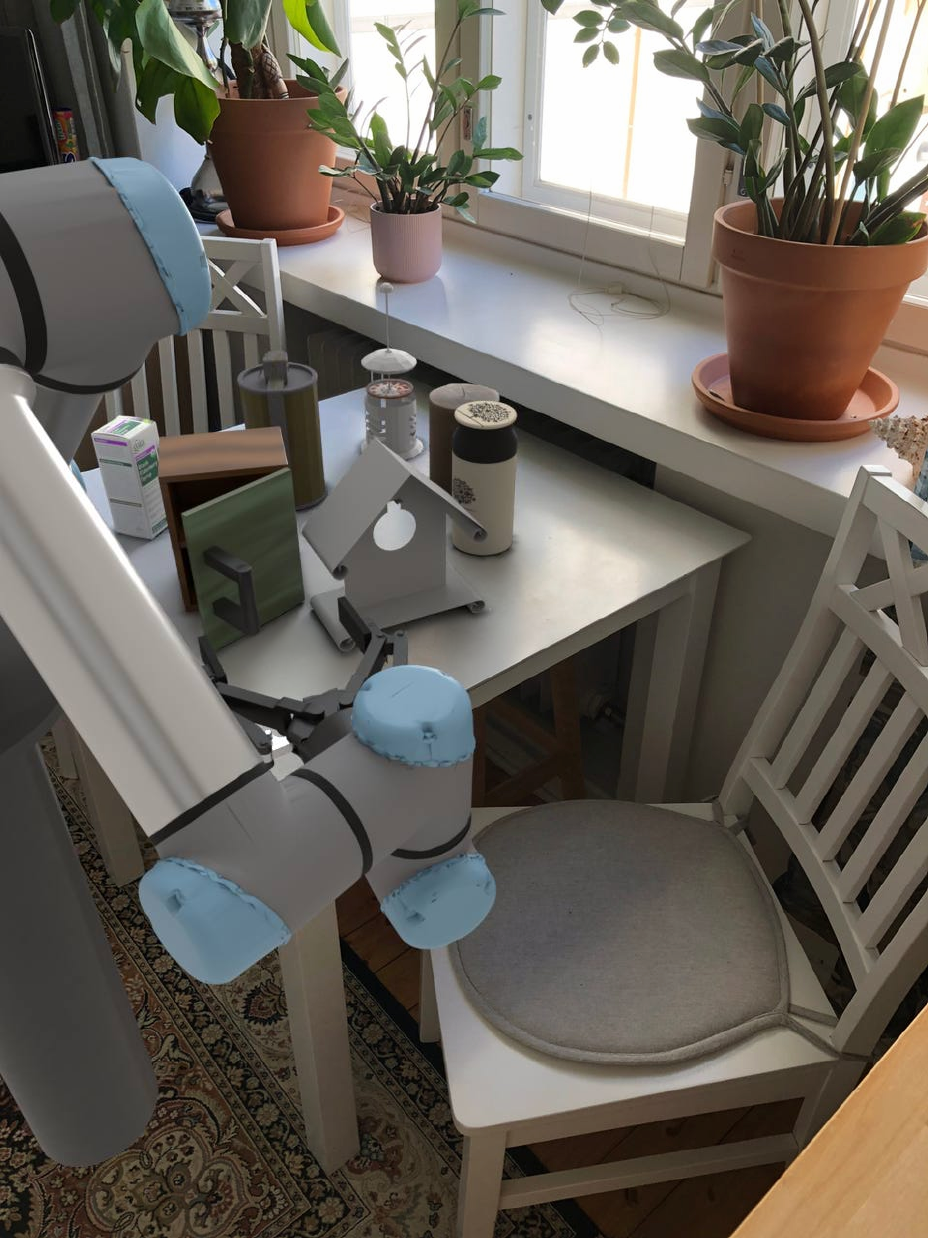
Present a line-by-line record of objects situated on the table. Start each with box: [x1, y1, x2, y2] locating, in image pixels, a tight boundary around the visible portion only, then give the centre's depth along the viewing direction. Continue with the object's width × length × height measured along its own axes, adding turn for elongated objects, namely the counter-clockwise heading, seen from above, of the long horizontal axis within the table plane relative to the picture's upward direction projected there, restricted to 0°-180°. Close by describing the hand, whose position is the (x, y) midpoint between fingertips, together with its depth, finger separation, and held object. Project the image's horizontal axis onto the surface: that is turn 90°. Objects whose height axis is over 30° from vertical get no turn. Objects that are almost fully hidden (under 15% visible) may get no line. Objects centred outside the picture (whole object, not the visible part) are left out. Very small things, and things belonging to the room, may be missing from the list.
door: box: [181, 467, 306, 653], centre depth 99 cm, size 7×14×17 cm, turn 139°
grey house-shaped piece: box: [301, 437, 488, 653], centre depth 103 cm, size 18×10×20 cm, turn 117°
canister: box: [236, 350, 328, 512], centre depth 125 cm, size 11×10×20 cm
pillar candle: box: [428, 383, 500, 497], centre depth 130 cm, size 10×10×15 cm
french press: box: [360, 282, 424, 461], centre depth 137 cm, size 10×12×25 cm
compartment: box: [158, 426, 288, 613], centre depth 108 cm, size 10×14×18 cm
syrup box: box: [90, 415, 168, 540], centre depth 119 cm, size 6×6×14 cm
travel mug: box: [451, 401, 519, 556], centre depth 116 cm, size 8×8×18 cm
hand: (274, 627), depth 88 cm, fingers open, 13 cm apart
